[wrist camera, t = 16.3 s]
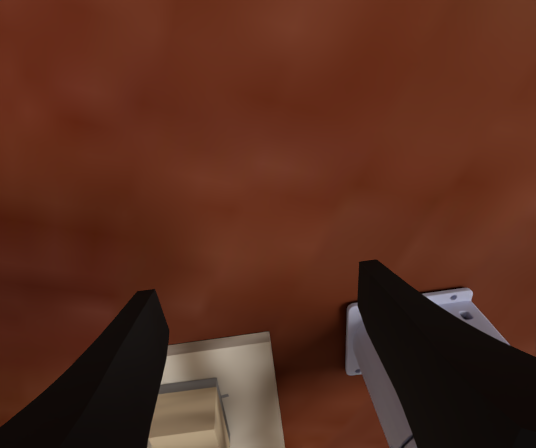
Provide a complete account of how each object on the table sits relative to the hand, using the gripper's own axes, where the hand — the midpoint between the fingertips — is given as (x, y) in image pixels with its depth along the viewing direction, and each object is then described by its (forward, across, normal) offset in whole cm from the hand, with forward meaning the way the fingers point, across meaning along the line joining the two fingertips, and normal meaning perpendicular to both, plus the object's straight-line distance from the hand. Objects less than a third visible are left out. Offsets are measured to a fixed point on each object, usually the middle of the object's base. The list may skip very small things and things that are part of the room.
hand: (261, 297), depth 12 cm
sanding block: (+8, +7, +19) cm, 22 cm away
